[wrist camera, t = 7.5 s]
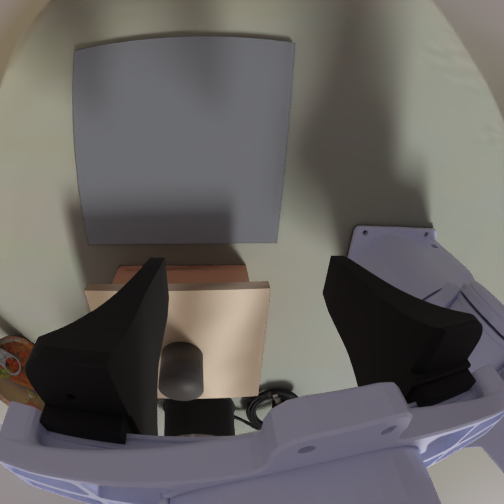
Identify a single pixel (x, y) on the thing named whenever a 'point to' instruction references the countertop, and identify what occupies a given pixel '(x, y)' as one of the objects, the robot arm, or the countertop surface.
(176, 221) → the slate mat
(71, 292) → the countertop surface
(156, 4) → the countertop surface
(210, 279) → the terracotta dish
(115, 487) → the robot arm
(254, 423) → the milk frother
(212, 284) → the birch lid
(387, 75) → the countertop surface
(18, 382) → the tin
